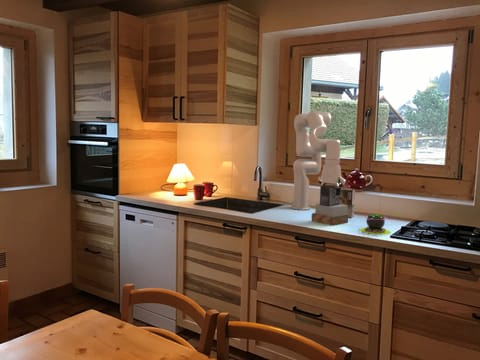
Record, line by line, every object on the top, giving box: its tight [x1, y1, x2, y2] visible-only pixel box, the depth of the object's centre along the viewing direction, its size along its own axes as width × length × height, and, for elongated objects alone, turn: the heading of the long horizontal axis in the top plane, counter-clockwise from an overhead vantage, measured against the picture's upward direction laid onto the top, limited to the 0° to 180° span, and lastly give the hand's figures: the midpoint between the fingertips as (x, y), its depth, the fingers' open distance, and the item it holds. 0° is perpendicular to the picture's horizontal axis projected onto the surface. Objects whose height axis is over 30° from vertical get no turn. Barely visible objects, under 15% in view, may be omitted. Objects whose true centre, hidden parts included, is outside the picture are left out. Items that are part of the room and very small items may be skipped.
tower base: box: [311, 212, 349, 227], centre depth 241 cm, size 14×14×5 cm
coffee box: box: [339, 188, 356, 219], centre depth 259 cm, size 9×6×16 cm
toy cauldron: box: [359, 213, 391, 236], centre depth 221 cm, size 15×15×11 cm
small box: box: [319, 184, 340, 206], centre depth 240 cm, size 11×6×10 cm, turn 136°
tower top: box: [314, 203, 348, 217], centre depth 241 cm, size 12×12×5 cm
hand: (330, 194), depth 240 cm, fingers open, 9 cm apart
